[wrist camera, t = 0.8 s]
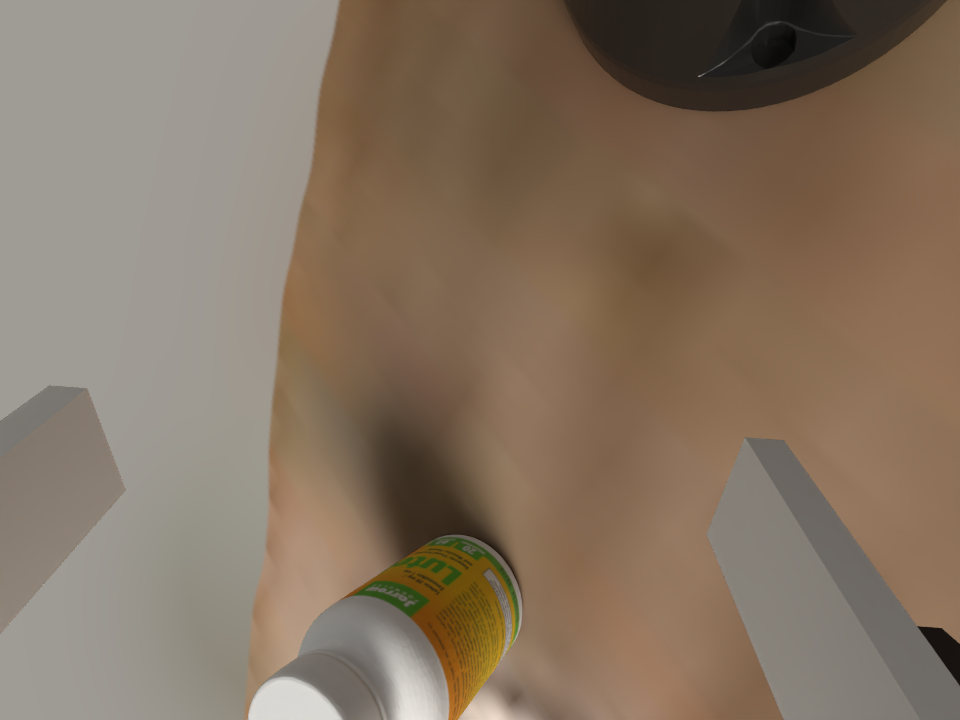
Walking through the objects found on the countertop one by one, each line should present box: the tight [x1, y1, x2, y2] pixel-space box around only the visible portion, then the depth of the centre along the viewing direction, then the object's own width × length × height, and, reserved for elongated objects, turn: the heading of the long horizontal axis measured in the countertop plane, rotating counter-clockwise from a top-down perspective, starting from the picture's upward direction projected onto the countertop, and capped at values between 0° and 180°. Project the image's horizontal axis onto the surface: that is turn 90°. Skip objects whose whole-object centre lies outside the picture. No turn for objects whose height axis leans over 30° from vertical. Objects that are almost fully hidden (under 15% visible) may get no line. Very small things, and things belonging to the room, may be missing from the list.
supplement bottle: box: [248, 535, 522, 720], centre depth 21 cm, size 6×6×11 cm
